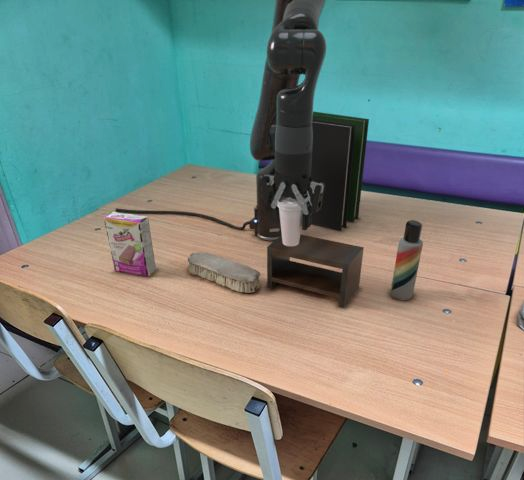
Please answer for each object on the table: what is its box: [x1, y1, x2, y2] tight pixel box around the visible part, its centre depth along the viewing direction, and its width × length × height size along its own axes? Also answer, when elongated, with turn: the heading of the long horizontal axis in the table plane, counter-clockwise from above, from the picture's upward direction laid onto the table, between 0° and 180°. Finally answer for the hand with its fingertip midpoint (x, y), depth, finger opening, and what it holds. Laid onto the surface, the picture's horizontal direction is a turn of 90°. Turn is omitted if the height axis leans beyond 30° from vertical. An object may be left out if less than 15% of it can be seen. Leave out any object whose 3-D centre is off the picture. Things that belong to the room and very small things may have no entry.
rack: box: [266, 234, 365, 309], centre depth 129 cm, size 22×11×12 cm, turn 61°
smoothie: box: [277, 197, 304, 246], centre depth 107 cm, size 6×6×14 cm
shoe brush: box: [187, 251, 261, 294], centre depth 135 cm, size 24×8×5 cm, turn 54°
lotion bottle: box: [390, 219, 424, 301], centre depth 123 cm, size 6×6×20 cm
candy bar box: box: [103, 211, 157, 278], centre depth 137 cm, size 11×5×16 cm, turn 71°
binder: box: [272, 110, 370, 232], centre depth 163 cm, size 27×15×32 cm, turn 54°
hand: (291, 226), depth 109 cm, fingers closed on smoothie, 6 cm apart
